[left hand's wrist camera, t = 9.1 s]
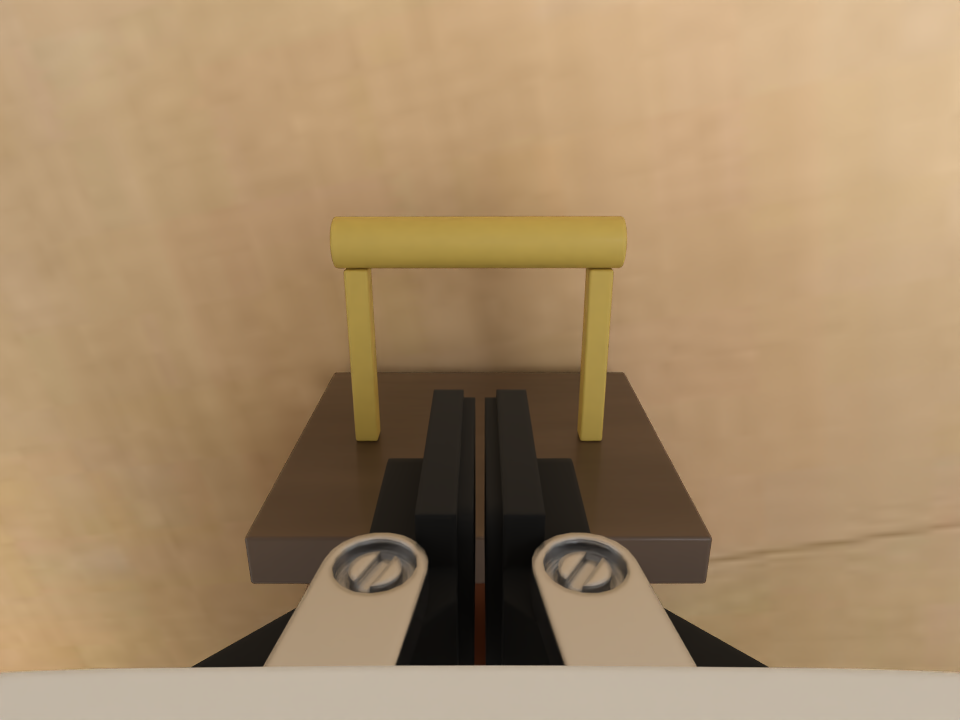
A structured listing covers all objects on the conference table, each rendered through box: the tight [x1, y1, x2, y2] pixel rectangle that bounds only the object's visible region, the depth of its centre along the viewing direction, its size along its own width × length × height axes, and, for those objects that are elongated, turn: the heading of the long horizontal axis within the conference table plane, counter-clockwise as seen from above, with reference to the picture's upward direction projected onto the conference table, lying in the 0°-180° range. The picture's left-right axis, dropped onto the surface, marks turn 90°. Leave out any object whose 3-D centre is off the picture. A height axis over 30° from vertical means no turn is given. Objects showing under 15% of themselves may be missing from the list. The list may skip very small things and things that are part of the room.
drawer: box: [245, 216, 712, 666], centre depth 20 cm, size 23×10×9 cm, turn 0°
